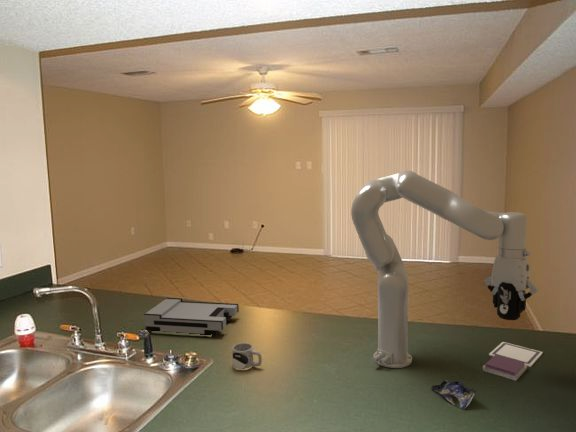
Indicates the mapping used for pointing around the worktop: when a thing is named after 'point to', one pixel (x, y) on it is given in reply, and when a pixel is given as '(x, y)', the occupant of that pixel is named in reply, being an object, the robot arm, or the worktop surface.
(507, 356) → the marked card
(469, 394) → the snack package
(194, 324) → the game console
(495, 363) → the ink pad
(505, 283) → the beverage can
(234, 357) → the mug
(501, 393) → the worktop surface
